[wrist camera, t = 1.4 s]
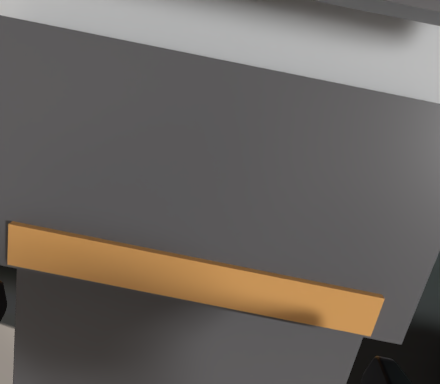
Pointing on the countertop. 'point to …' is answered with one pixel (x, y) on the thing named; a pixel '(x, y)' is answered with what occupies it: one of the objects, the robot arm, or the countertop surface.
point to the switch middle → (215, 181)
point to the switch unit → (266, 37)
